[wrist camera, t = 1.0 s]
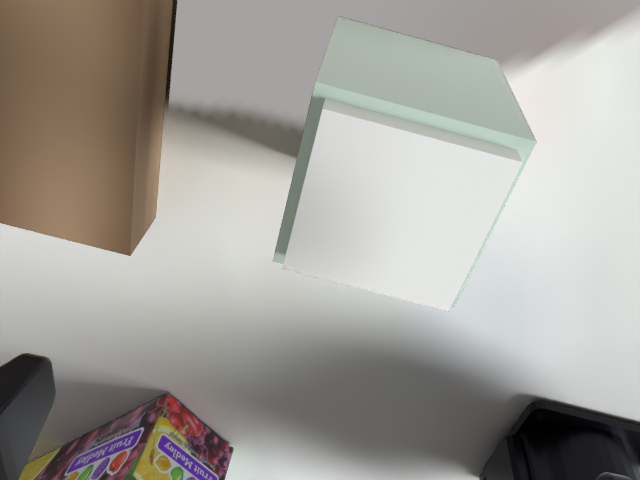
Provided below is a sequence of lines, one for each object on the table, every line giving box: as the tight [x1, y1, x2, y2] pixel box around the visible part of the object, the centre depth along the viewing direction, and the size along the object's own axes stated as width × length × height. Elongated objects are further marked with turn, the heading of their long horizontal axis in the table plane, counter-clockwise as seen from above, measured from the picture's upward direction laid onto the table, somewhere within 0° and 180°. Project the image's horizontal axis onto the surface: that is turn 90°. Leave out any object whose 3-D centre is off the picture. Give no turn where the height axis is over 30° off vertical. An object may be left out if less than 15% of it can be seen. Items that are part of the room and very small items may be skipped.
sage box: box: [273, 16, 537, 311], centre depth 16 cm, size 5×5×7 cm
